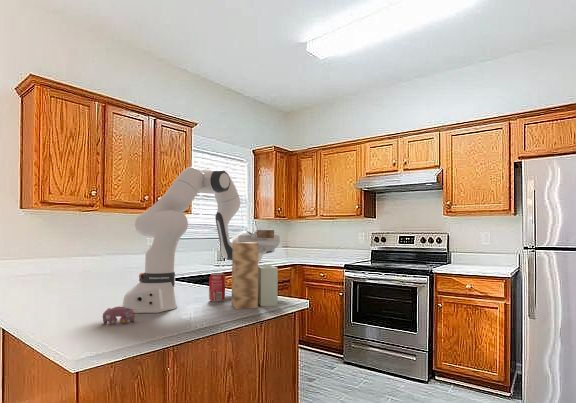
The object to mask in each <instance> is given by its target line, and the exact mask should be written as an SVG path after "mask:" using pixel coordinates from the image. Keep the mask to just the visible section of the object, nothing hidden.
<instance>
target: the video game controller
mask: <svg viewBox="0 0 576 403" xmlns="http://www.w3.org/2000/svg"><path fill="white" fill-rule="evenodd" d="M135 316H136V315H135V313H134V312H133V310H132V309H131V308H130V307H128V308H125V307H118V306H115V307H113V308H111V307H109V308H107V309H106V310H105V311H104V312H103V313H102V322H103V323H104V324H107V323H109V324H110V325H116V324H117V323H118V318H117V317H120V319H119V323H120V324H123V325H124V324H127V322H128V321H130V322H131V323H134V321H135Z"/></svg>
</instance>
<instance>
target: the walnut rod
mask: <svg viewBox="0 0 576 403" xmlns="http://www.w3.org/2000/svg"><path fill="white" fill-rule="evenodd" d="M256 232H258V236H257V237H259V238H274V235H275V229H257V230H256Z"/></svg>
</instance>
